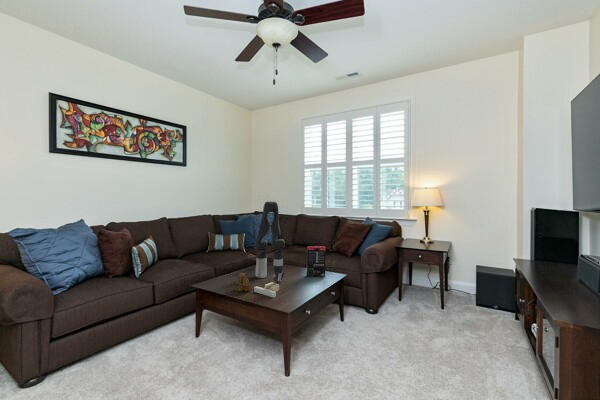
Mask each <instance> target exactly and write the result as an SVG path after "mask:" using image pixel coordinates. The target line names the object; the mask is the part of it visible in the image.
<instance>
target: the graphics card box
mask: <svg viewBox="0 0 600 400" xmlns="http://www.w3.org/2000/svg"><path fill="white" fill-rule="evenodd" d="M326 249H327V247H326V246H323V245H321V246H320V245H319V246H318V245H317V246H316V245H315V246H314V245H313V246H312V245H311V246H310V245H309V246H308V245H307V246H306V272H305V274H306V276H307V277H308V278H309V277H315V278H316V277H319V278H320V277H326V255H327V254H326V252H327V250H326Z"/></svg>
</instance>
